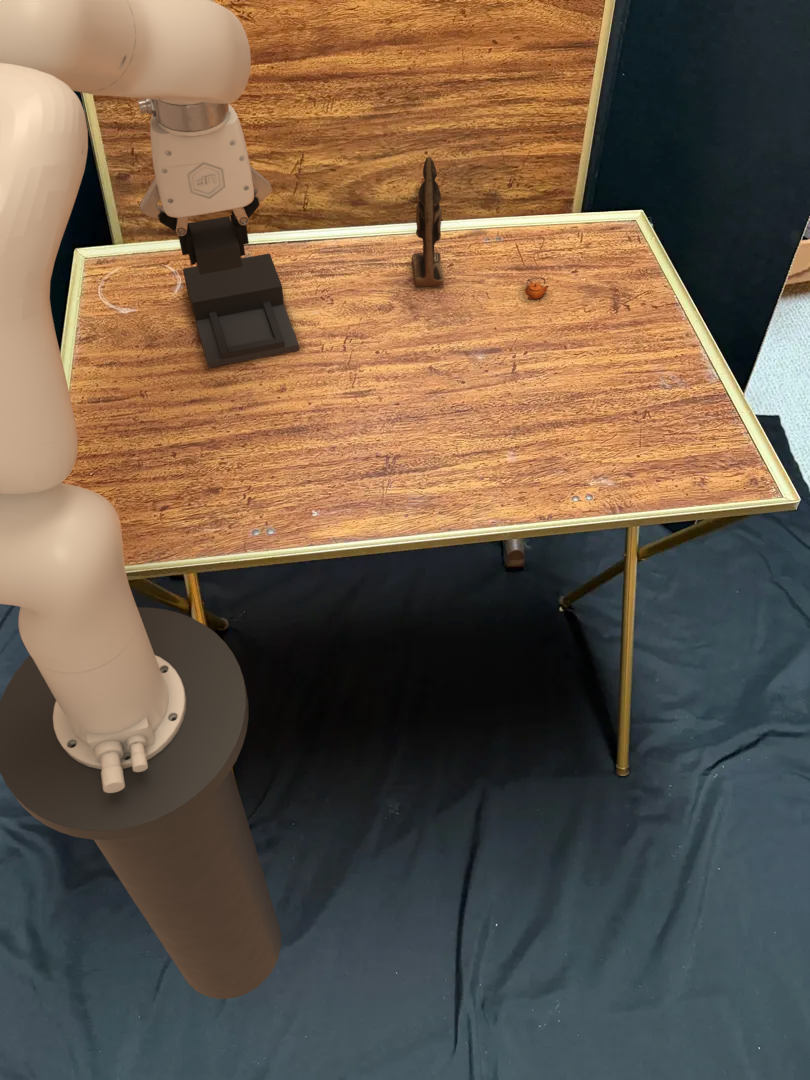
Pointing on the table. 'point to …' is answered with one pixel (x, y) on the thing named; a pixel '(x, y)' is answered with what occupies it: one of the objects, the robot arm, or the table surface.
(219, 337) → the pad base
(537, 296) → the small kettle
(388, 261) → the table surface
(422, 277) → the statue
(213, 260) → the loose pad
